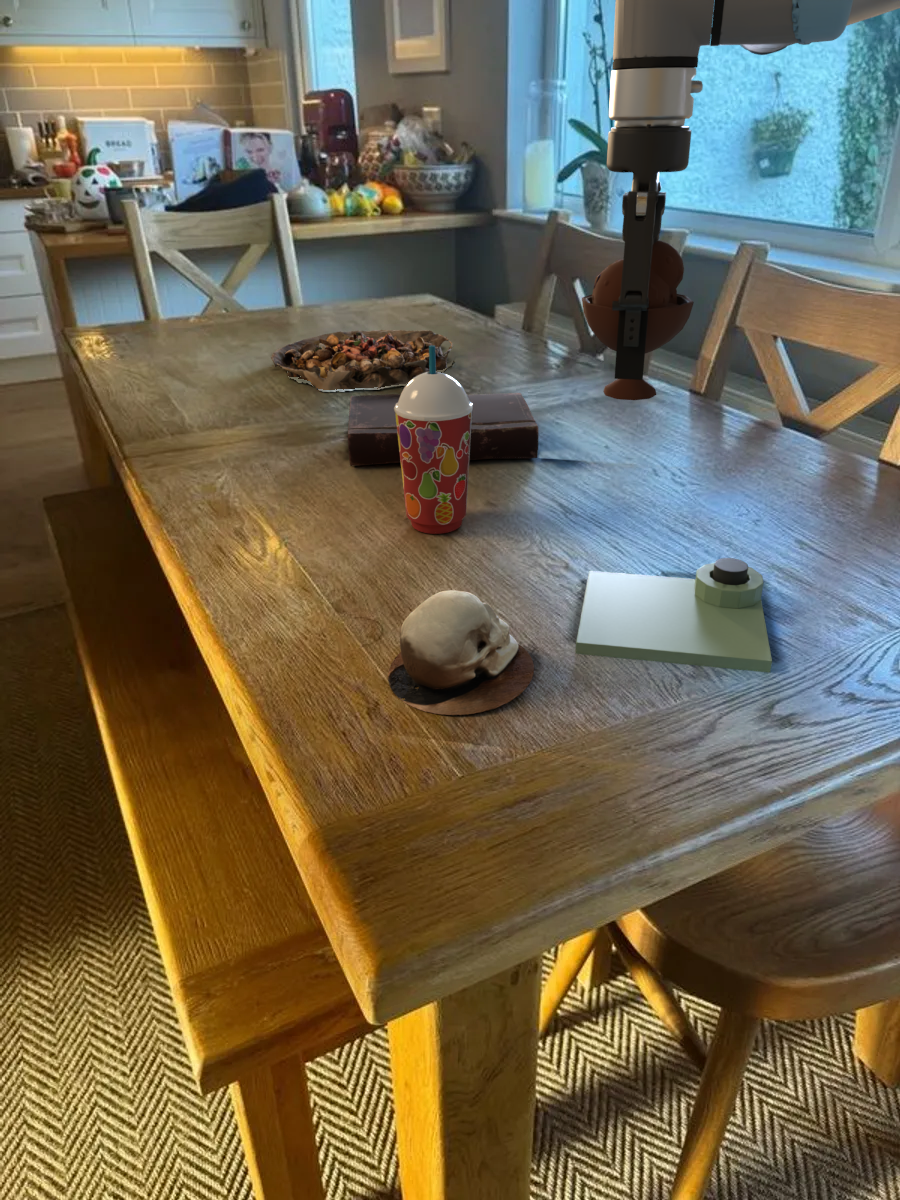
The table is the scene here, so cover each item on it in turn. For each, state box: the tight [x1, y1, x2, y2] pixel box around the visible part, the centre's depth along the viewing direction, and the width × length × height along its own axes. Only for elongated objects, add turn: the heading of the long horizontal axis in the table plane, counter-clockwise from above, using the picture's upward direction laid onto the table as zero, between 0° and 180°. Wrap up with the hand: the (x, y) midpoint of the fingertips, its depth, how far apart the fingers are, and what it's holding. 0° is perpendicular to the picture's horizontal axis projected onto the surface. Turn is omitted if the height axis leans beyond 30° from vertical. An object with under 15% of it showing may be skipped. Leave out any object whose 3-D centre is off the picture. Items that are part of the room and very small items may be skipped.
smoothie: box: [394, 345, 473, 535], centre depth 98 cm, size 8×8×20 cm
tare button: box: [713, 557, 749, 585], centre depth 83 cm, size 3×3×2 cm
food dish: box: [270, 329, 454, 390], centre depth 165 cm, size 35×33×8 cm
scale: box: [574, 562, 773, 674], centre depth 81 cm, size 16×14×3 cm
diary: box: [347, 392, 539, 467], centre depth 126 cm, size 19×25×5 cm
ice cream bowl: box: [581, 240, 695, 401], centre depth 91 cm, size 11×11×15 cm
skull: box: [387, 589, 535, 716], centre depth 74 cm, size 12×10×10 cm
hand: (631, 364), depth 93 cm, fingers closed on ice cream bowl, 11 cm apart
